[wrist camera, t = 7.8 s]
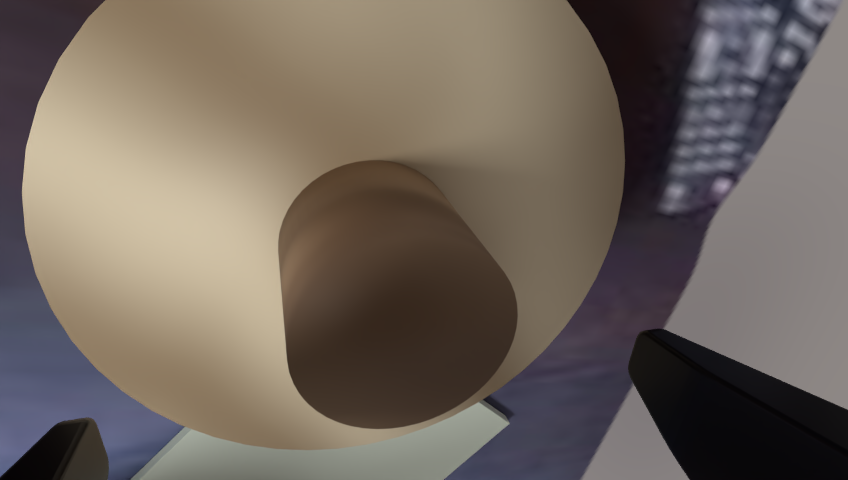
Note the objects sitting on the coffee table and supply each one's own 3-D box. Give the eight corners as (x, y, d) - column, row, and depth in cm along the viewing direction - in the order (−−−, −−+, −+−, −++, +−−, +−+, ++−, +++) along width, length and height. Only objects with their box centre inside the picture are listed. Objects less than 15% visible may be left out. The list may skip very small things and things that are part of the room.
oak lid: (362, 477, 17) (393, 628, 13) (-107, 260, 10) (-325, 446, 6) (676, 201, 15) (818, 284, 11) (362, -295, 8) (454, -507, 4)
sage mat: (336, 559, 32) (337, 569, 31) (121, 488, 24) (118, 499, 24) (505, 415, 30) (509, 423, 29) (326, 290, 22) (327, 298, 22)
